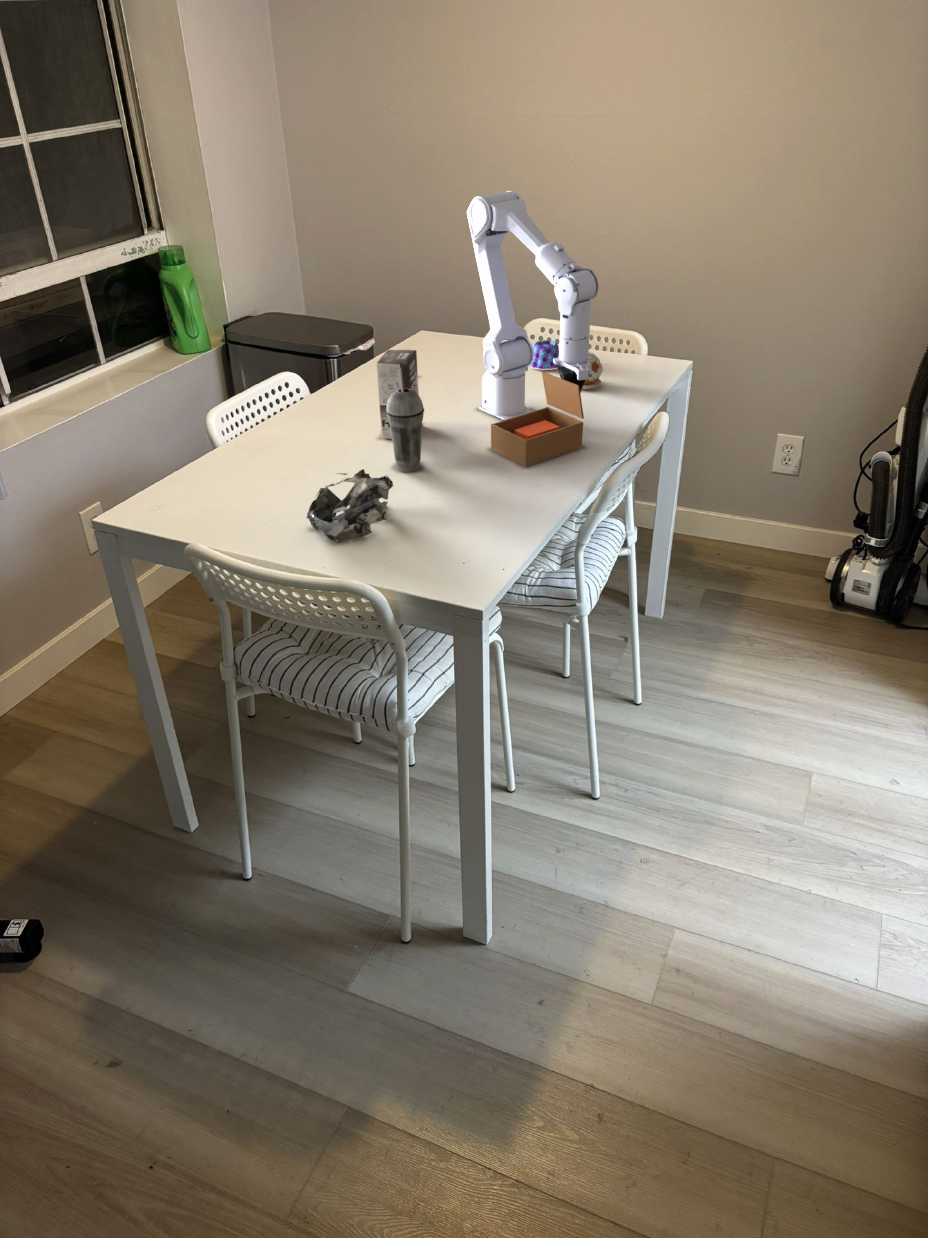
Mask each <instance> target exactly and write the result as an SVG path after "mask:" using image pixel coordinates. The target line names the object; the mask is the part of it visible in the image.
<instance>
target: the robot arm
mask: <svg viewBox="0 0 928 1238" xmlns="http://www.w3.org/2000/svg"><path fill="white" fill-rule="evenodd" d="M466 216H467V221H468V226H469V231H470V235H471V241H472V246H473V251H474V255H475V260H476V265H477V271H478V274H479V279H480V284H481V289H482V293H483V298H484V304H485V308H486V313H487V316H488V322H489V328H490V330H489V331H488V333H487V334H486V335H485V337H484V338H483V340H482V347H483V356H482V360H483V365H484V367H485V369H486V371H485V372H484V374H483V376H482V380H481V396H482V398H481V401H482V402H481V403H482V405H481V406H479V407H478V408H479V411H483V412H484V413H487V414H489V415H491V416H493V417H496V418H498V419H500V420H501V421H503V420H507V419H510V418H513V417H516V416H520V415H523V414H526V413H529V412H533V411H534V410H533V409H532V408H529V407H526V372H528V371H529V367H528V366H529V365H530V364H531V363H532V361H533V357H534V352H533V345H532V343H531V341H530V339H529V337H528V333H527V330H526V329H525V328H523V327H522V326H520V325H519V324H517V321H516V317H515V312H514V311H515V310H514V306H513V301H512V297H511V291H510V287H509V281H508V276H507V272H506V266H505V261H504V256H503V251H502V243H503V241H504V240H505V238H506V236H507V235H509V233H512V234H513V235H514V236H515V237H516V238H517V239H518V240H519V241H520V242H521V243H522V244H523V245H524V246H525V247H526V248H527V249H528V250H529V251H530V252H531V253H533V255H535V260H534V261H535V266H536V267H537V268H538V269H539V270H540V272H541V273H542V274H543V275H544V276H545V278H546V279H547V280H548V281H549V282H550V283H551V284H552V286H554V288H553V289H554V295H555V298H556V301H557V304H558V305H557V306H558V309H557V310H558V311H559V314H560V315H559V317H560V319H559V321H560V322H559V324H560V325H559V344H558V348H559V357H558V358H554V359H553V363H554V364H556V365H558V364H560V365H562V366H560V367H558V368H557V369H556V370H557V372H558V374H559V378H561V379H563V380H566V381H569V382H571V383H574V384H576V385H579V387H580V394H581V395H582V391H583V389H582V387H583V385H584V383H585V381H586V380H588V376H589V370H588V365H589V357H588V354H589V352H590V331H591V312H592V300H594V299H595V298H596V297H597V295H598V292H599V287H600V286H599V280H598V277H597V275H596V274H595V272H594V270H593V269H591V268H589V267H583V266H582V265H579V264H578V263H577V262H576V261H575V260H574V259H573V258H572V257H571V256H570V255H569V254H568V252H567V251H566V250H565V247H564V246H563V245H562V243H559V242H556V241H552V242H550V241H549V240H548V239H547V237H546V236H545V234H544V233H543V232H542V230H541V229H540V228H539V226H538V225H537V224H536V222H535V221H534V220H533V219H532V217H531V216H530V215H529V213H528V212H527V204H526V201H525V200H524V199H522V197H521V195H520V194H519V193H518V192H517V191H515V190H507V191H505V192H504V191H503V192H500V193H494V194H488V195H476V196H475V197H473V198H472V199H471V202H470V204H469V206H468V208H467V211H466ZM509 339H510V340H509Z"/></svg>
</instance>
